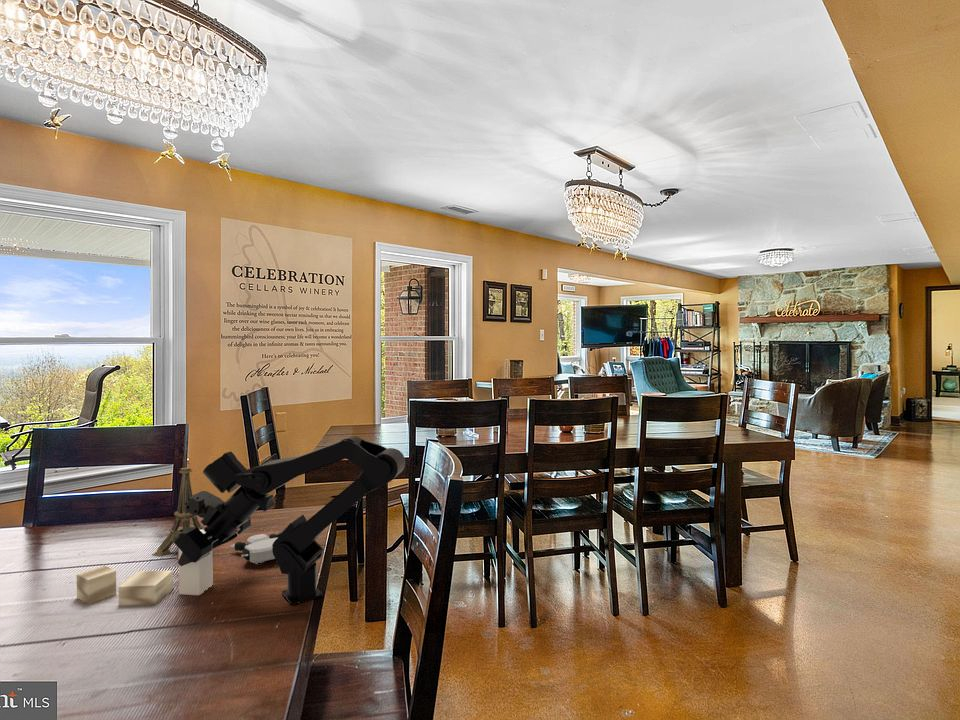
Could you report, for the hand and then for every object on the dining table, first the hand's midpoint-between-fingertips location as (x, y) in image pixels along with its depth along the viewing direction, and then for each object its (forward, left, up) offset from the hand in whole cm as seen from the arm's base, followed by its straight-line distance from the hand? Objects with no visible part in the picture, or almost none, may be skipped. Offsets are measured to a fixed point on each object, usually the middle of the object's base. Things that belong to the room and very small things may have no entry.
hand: (189, 558), depth 110 cm
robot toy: (+9, -18, -7) cm, 21 cm away
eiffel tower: (+25, -4, -7) cm, 26 cm away
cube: (+9, +15, -7) cm, 19 cm away
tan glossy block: (+2, +7, -7) cm, 10 cm away
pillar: (-1, -1, -7) cm, 7 cm away
